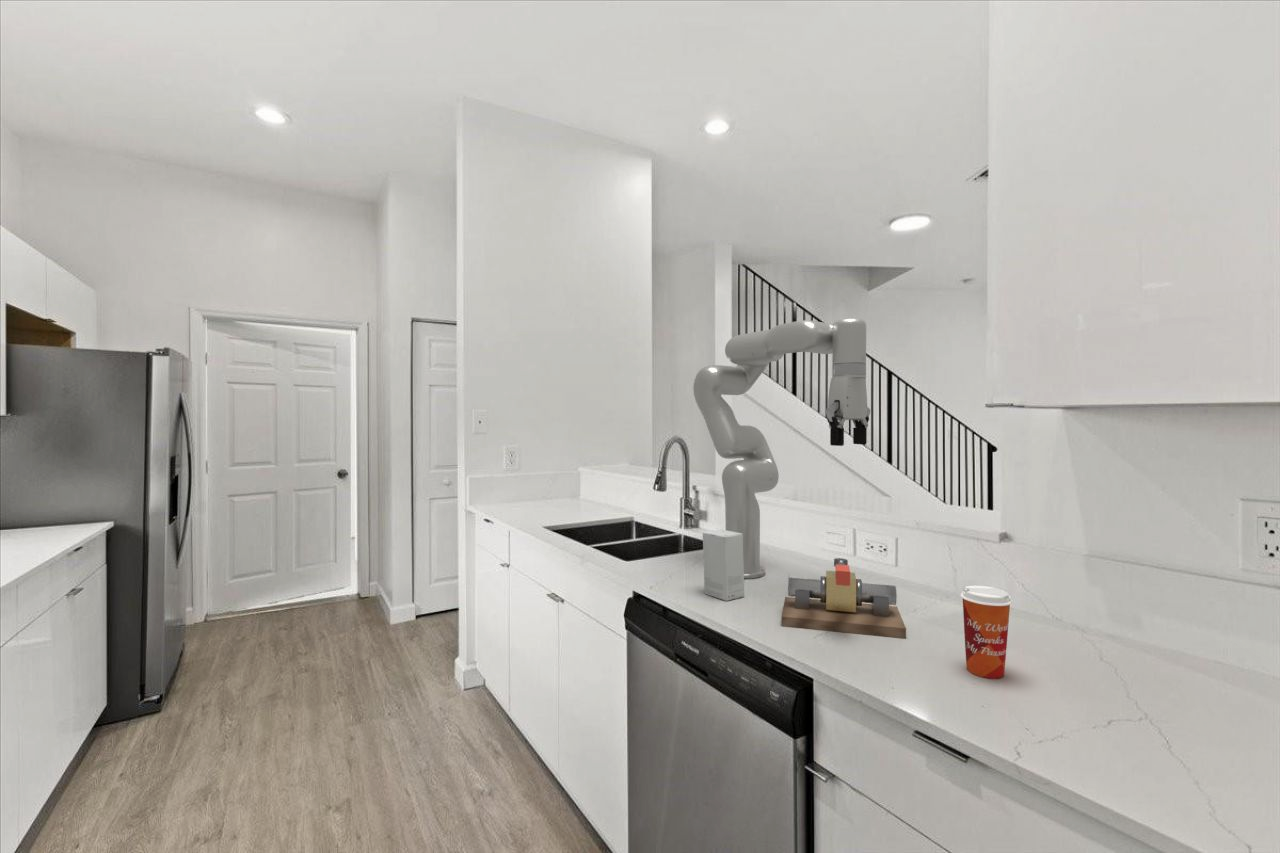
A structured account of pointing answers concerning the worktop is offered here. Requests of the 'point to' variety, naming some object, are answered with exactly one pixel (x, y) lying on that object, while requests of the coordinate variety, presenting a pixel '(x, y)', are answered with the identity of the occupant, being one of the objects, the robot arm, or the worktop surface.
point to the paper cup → (986, 630)
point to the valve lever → (842, 572)
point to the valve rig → (843, 607)
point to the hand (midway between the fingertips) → (848, 444)
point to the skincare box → (723, 564)
